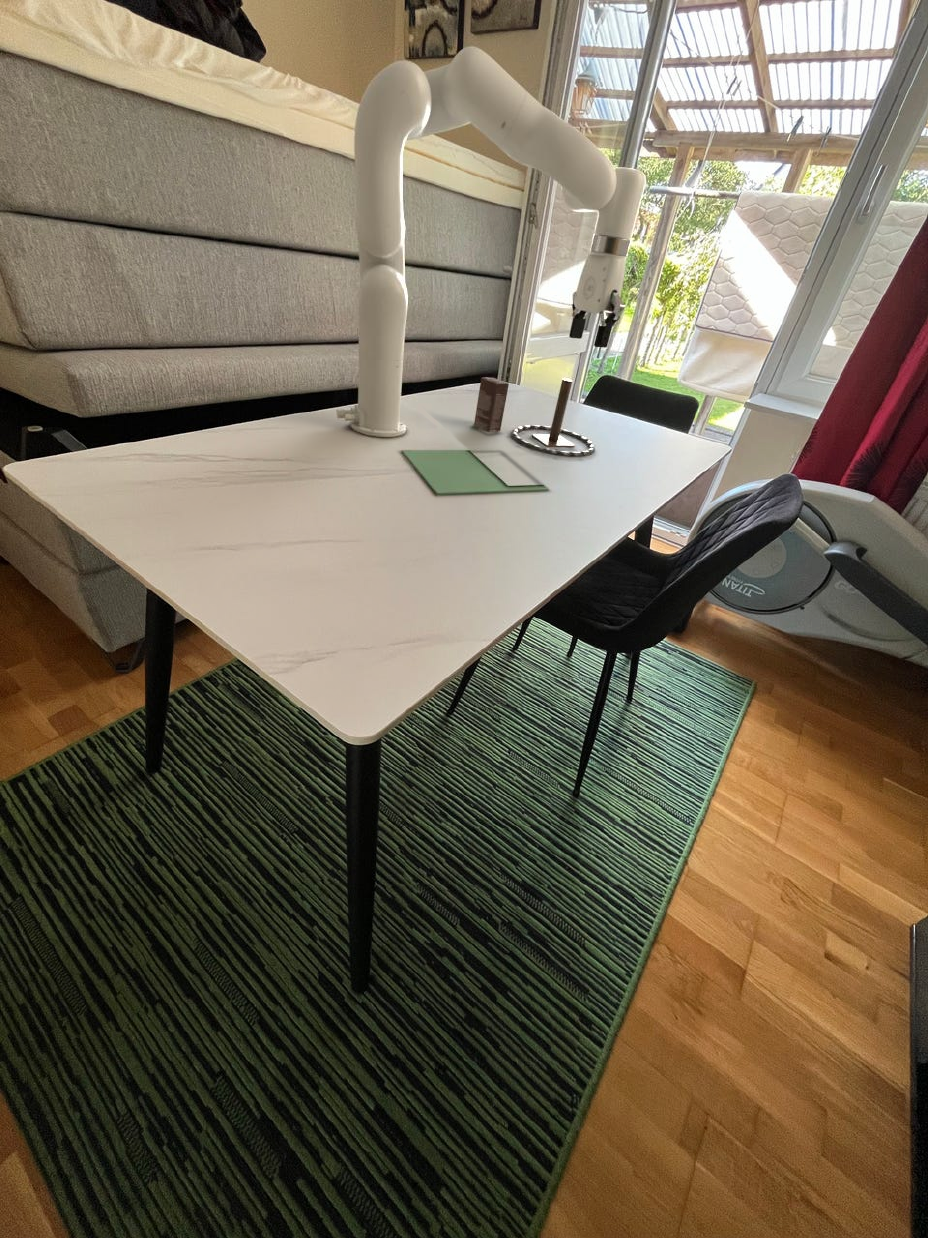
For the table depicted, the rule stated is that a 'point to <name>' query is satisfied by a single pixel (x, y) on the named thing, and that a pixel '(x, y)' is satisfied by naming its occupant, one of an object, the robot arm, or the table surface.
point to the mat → (460, 473)
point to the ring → (548, 451)
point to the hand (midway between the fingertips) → (587, 342)
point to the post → (557, 420)
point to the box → (491, 404)
